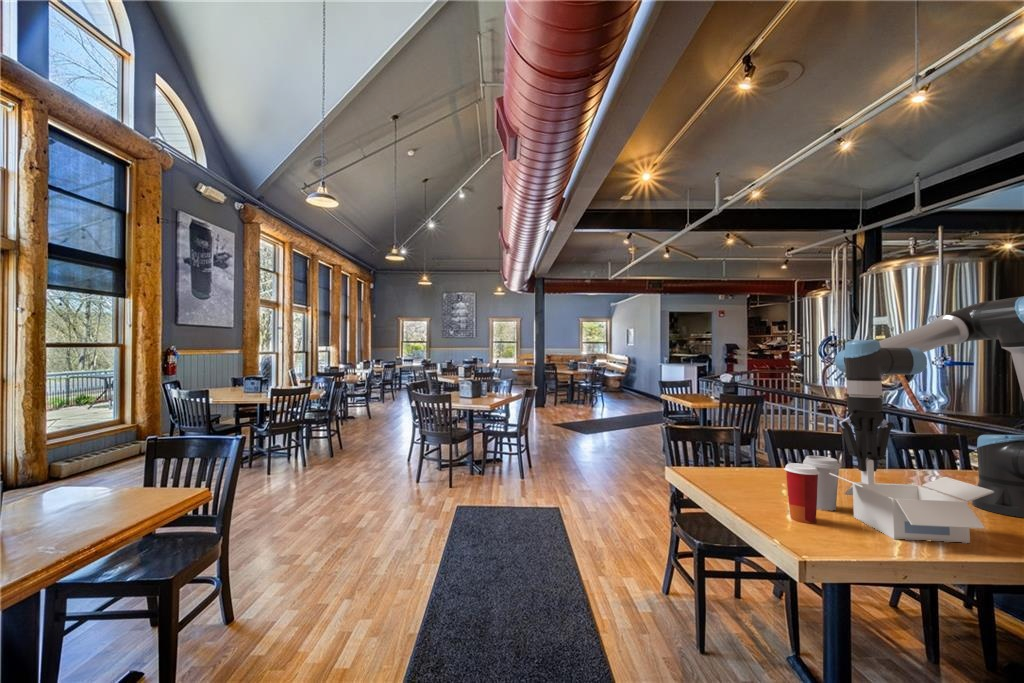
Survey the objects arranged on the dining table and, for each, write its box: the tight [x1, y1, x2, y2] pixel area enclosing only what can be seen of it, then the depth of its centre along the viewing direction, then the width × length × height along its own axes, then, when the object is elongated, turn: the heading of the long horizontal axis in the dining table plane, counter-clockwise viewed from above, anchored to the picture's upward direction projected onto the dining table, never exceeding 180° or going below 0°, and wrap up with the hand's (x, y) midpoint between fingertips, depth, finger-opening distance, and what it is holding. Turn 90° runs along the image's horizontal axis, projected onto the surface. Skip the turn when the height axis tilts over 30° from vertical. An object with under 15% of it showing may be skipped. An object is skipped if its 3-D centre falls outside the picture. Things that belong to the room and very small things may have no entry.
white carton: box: [844, 481, 986, 544], centre depth 113 cm, size 17×25×10 cm
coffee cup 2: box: [802, 455, 842, 512], centre depth 130 cm, size 10×10×15 cm
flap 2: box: [921, 476, 994, 503], centre depth 112 cm, size 6×14×1 cm, turn 174°
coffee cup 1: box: [783, 462, 819, 524], centre depth 120 cm, size 8×8×15 cm
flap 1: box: [829, 473, 889, 498], centre depth 115 cm, size 6×14×1 cm, turn 172°
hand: (867, 483), depth 114 cm, fingers closed
